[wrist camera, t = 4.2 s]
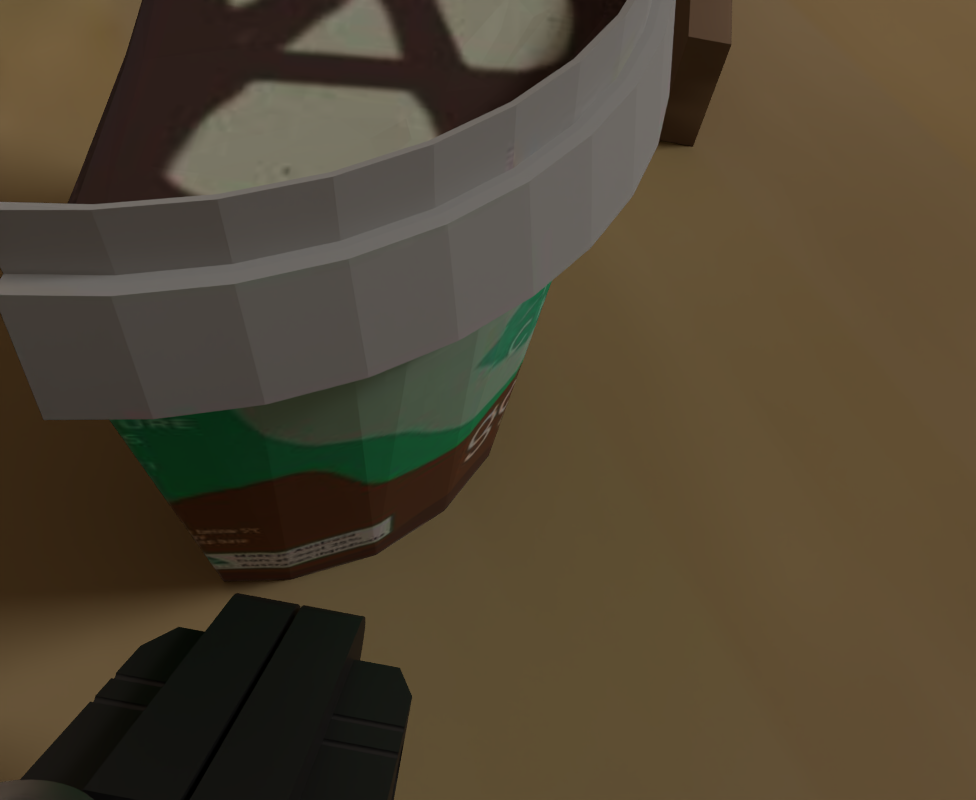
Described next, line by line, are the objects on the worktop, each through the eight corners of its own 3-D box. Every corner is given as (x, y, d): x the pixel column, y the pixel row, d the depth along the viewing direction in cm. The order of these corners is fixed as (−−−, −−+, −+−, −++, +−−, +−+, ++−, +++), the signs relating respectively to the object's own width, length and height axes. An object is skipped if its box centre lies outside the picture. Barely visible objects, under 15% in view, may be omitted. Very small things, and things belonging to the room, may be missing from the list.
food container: (574, 685, 15) (819, 332, 6) (206, 667, 14) (-60, 265, 6) (558, 174, 21) (667, -330, 13) (306, 152, 21) (249, -383, 12)
